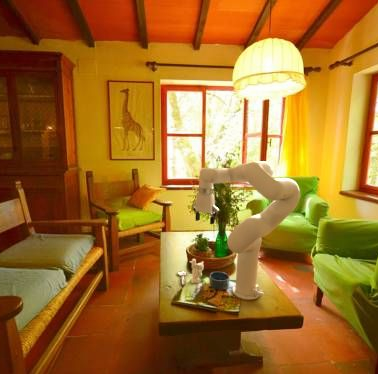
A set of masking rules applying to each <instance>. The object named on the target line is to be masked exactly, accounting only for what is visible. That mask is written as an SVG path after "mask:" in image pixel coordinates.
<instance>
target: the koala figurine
mask: <svg viewBox="0 0 378 374" xmlns="http://www.w3.org/2000/svg"><path fill="white" fill-rule="evenodd" d="M188 262H189V263H190V264H191V269H192V270H191V281H190V283H191V284H195V283H197V284H199V283H200V282H201V281H202V279H201V277H202V276H203V273H202V272H203V271H204V270H205V269H204V266H205V265H204V263H205V262H204V261H201V262H198V263H197V259H196V258H192V259H191V260H189V261H188Z"/></svg>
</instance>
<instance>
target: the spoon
mask: <svg viewBox="0 0 378 374" xmlns="http://www.w3.org/2000/svg"><path fill="white" fill-rule="evenodd" d="M177 276H179V277H181V278H180V279H181V286H185V285H186V283H185V277H186V276H187V272H186V271H183V270H180V271H178V272H177Z"/></svg>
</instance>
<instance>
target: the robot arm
mask: <svg viewBox="0 0 378 374" xmlns="http://www.w3.org/2000/svg"><path fill="white" fill-rule="evenodd" d="M273 175H274V167H273V165H272V164H271V163H270V162H268V161H264V160H263V161H259V160H258V161H256V160H255V161H253V160H252V161H249V162H247V163H240V164H236V166H233V167H219V168H218V167H217V168H212V167H201V168H199V179H198V187H197V191H198V192H197V194H196V198H195V203H193V204H192V205H191V207H192V210H193V211H194V214H195V221H196V222H198V221H201V213H204V214H209V215H210V218H209V220H210V221H209V224H210V225H214V224H215V223H216V217H217V215H219V212H220V209H219V208H218V207H217V206H216V202H215V201H216V199H215V194H214V184H225V183H235V182H236V183H240V184H241V183H248V184H249V185H250V186H251V187H252V188H253V189H254V190H256V191H257V193H259V194H260V196H262V197H263V198H264V199H266V200H268V201H271V202H270V203H269V204H268V205H267V206H266V208H264V209H263V210H262V211H261V212H260V213H257V214H255V215H251V216H248V217H246V218H244V219H243V220H242V221H241V222H240V223H239V224H238V225H237V226H236V227H235V228H234V229H233V230H232V231H231V232H230V233H229V235H228V237H227V242H226V244H227V248H228V250H230V251H231V252H232V253H235V254H237V259H236V272H235V273H236V274H235V275H236V276H235V285H233V286H232V290H231V292H232V294H233V295H234V296H235V297H236V298H239V299H241V300H246V301H253V300H257V299H258V298H259V297H261V298H264V297H265V291H264V290H263V289H260V288H259V284H257V281H258V268H259V256H260V249H261V247H262V241H263V239H262V238H263V237H266V236H267V235H270V234H271V233H272V232H273V231H274V230H275V229H276V228H277V227H279V225H280V224H282V223H283V221H284V220H286V219H287V218H288V217H289V216H290V215H291V214H292V213H293V212H294V210H295V209H296V208H297V206H298V204H299V202H300V198H301V191H300V187H299V185H298V183H297V181H295V180H294V179H292V178H288V177H277V178H275V177H273Z"/></svg>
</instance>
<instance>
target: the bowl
mask: <svg viewBox="0 0 378 374" xmlns="http://www.w3.org/2000/svg"><path fill="white" fill-rule="evenodd" d="M208 277H209V278H208V284H209V286H210V285H211V286H210V287H211V288H212V289H214V290H216V291H225V290H227V289H228V288H229V287H230V277H231V276H230V275H229V274H228V273H226V272H224V271H212V272H210V273H209V275H208Z"/></svg>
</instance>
